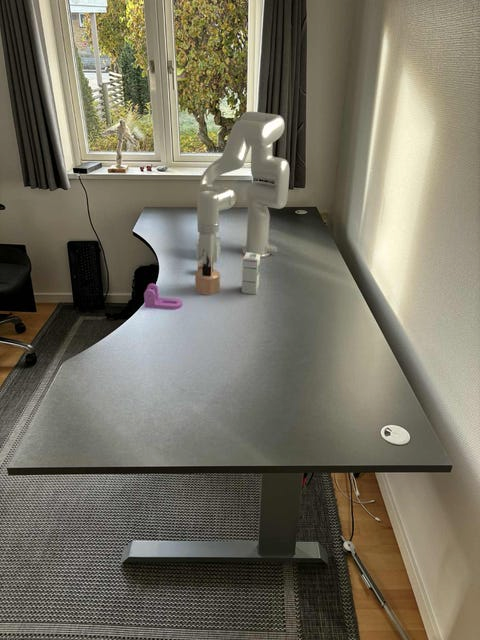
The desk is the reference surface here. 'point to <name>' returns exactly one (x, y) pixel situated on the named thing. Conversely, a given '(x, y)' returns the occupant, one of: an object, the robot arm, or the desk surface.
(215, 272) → the wooden octagon with knob
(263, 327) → the desk surface
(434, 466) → the desk surface
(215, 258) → the white block
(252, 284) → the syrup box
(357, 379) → the desk surface
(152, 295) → the bracket
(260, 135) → the robot arm
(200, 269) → the beech cube
